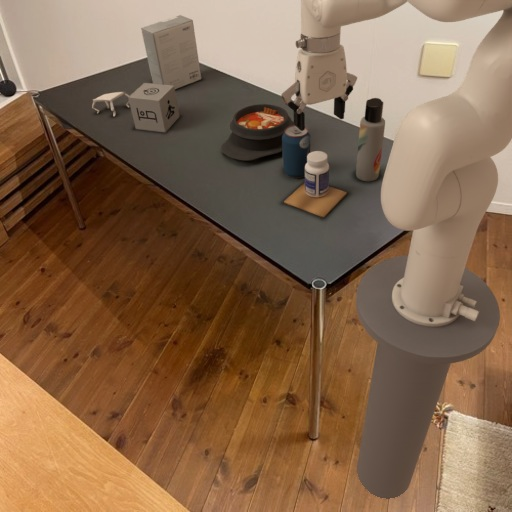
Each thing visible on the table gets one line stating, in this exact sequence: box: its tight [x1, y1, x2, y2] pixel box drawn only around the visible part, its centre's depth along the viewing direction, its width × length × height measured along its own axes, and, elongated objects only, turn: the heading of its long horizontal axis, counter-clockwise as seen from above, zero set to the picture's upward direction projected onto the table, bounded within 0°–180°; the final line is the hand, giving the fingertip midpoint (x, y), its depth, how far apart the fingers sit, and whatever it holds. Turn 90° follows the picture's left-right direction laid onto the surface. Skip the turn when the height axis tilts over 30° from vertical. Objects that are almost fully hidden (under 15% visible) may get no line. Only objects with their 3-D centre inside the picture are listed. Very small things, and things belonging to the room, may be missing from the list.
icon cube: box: [127, 82, 180, 133], centre depth 152 cm, size 10×10×10 cm
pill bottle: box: [304, 150, 330, 197], centre depth 120 cm, size 6×6×10 cm
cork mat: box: [283, 182, 348, 219], centre depth 122 cm, size 11×11×1 cm
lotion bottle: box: [355, 97, 386, 182], centre depth 121 cm, size 6×6×20 cm
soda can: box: [281, 125, 311, 179], centre depth 127 cm, size 7×7×12 cm
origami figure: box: [91, 91, 130, 117], centre depth 161 cm, size 12×8×5 cm
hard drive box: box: [140, 14, 202, 90], centre depth 169 cm, size 16×8×20 cm, turn 130°
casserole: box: [220, 103, 294, 162], centre depth 139 cm, size 25×19×8 cm
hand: (319, 122), depth 110 cm, fingers open, 9 cm apart
